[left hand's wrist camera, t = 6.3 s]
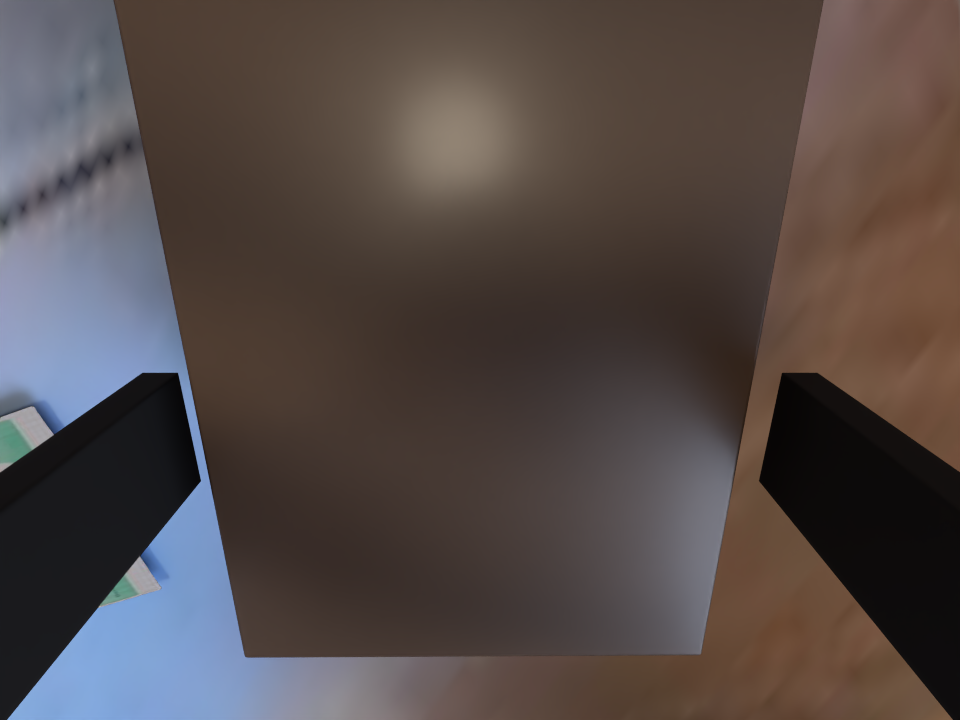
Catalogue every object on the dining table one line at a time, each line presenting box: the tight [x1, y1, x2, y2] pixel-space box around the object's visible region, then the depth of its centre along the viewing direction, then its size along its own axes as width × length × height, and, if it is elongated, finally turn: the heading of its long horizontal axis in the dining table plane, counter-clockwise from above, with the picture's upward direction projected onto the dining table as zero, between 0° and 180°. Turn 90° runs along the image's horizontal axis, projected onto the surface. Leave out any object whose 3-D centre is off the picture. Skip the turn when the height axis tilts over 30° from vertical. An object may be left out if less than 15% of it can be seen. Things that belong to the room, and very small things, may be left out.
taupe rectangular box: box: [114, 0, 823, 657], centre depth 14 cm, size 18×10×9 cm, turn 0°
